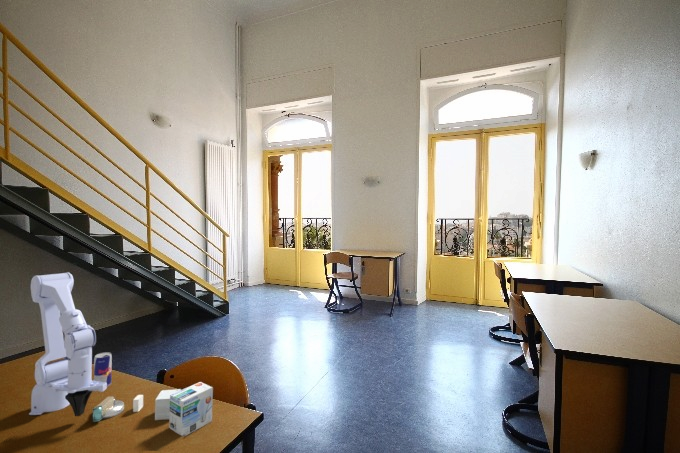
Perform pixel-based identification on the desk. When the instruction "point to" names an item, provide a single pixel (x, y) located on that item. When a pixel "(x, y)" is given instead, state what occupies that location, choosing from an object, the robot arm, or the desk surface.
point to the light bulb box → (191, 408)
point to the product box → (163, 404)
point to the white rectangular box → (138, 403)
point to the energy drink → (103, 368)
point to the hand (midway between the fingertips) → (79, 414)
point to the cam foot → (107, 409)
